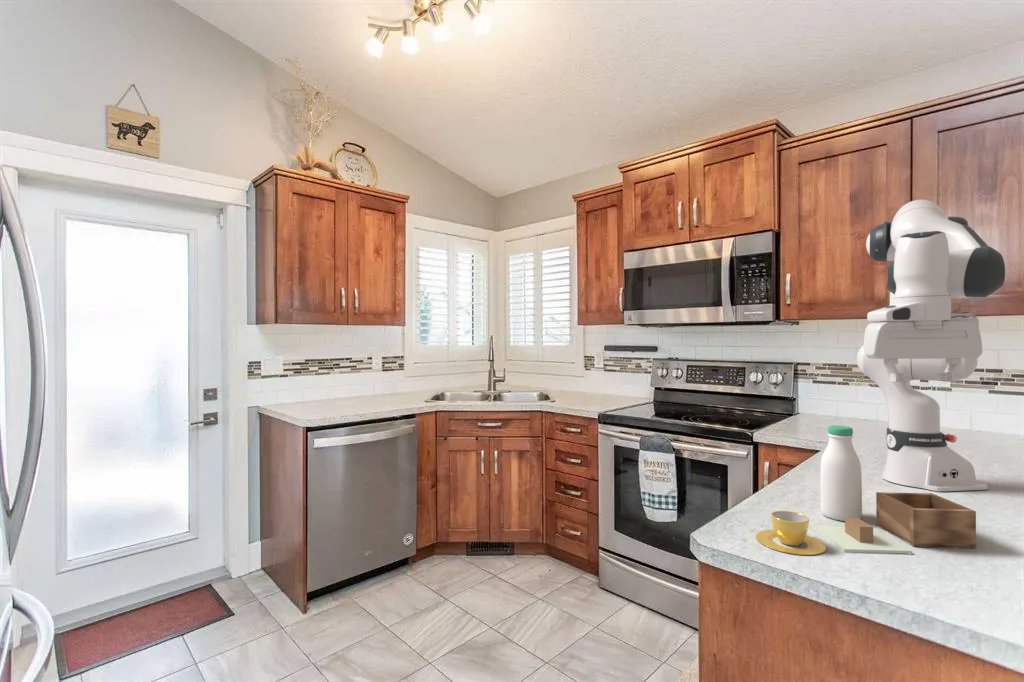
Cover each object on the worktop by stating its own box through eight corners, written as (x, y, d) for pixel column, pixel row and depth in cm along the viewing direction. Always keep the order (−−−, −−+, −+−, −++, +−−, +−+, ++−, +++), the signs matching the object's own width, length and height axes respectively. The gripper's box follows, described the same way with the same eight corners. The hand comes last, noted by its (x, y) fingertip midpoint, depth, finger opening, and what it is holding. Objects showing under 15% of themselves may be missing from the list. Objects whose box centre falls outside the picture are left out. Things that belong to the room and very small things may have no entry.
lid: (871, 532, 103) (871, 512, 103) (911, 557, 91) (911, 534, 91) (812, 531, 104) (812, 511, 104) (844, 555, 93) (844, 532, 93)
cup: (819, 563, 89) (819, 532, 89) (747, 545, 97) (747, 517, 96) (831, 542, 98) (831, 514, 98) (765, 527, 106) (765, 502, 106)
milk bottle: (868, 523, 106) (868, 430, 106) (828, 521, 108) (828, 429, 108) (852, 511, 114) (851, 424, 114) (814, 509, 116) (814, 423, 116)
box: (932, 526, 105) (931, 493, 105) (976, 548, 94) (975, 511, 94) (876, 525, 106) (876, 492, 106) (913, 546, 95) (913, 509, 95)
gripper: (964, 312, 102) (965, 380, 102) (858, 313, 104) (859, 380, 104) (991, 310, 95) (992, 382, 95) (878, 312, 97) (878, 383, 97)
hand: (921, 381), depth 100 cm, fingers open, 8 cm apart
